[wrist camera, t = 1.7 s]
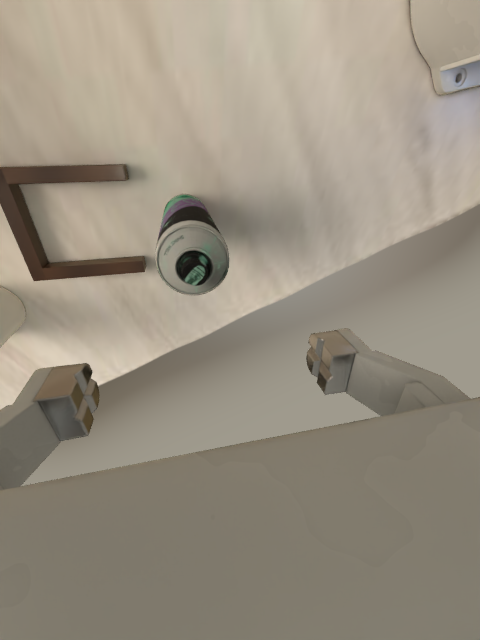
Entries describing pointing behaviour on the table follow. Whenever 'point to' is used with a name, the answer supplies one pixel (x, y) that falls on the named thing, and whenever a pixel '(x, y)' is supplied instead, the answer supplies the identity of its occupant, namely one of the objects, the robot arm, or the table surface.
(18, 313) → the cylindrical container
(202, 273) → the spray can
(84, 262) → the frame
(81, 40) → the table surface
